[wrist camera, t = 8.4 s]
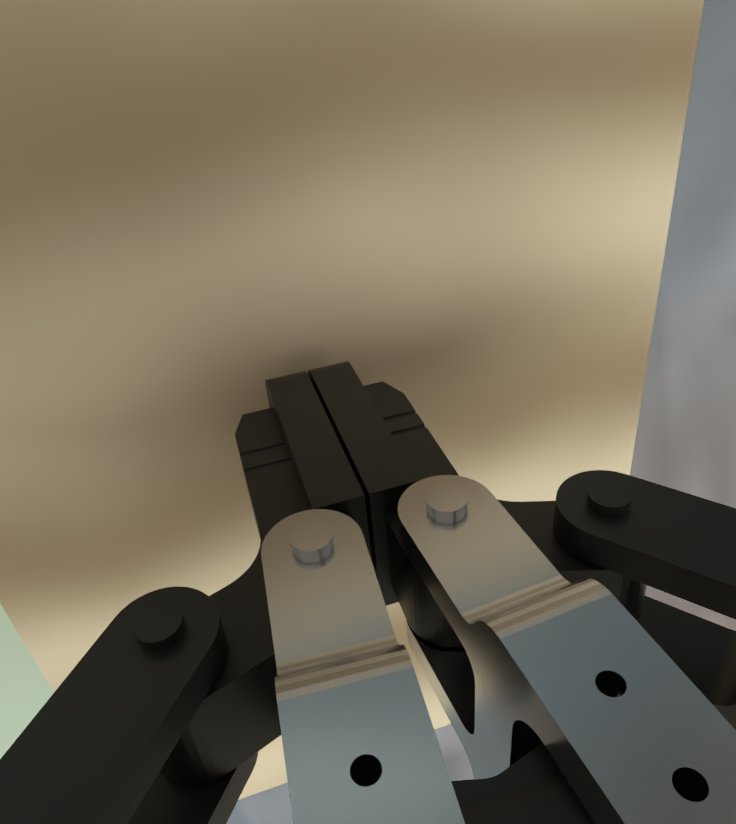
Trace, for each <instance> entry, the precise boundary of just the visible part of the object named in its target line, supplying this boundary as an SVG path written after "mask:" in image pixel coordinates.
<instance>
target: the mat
mask: <svg viewBox="0 0 736 824" xmlns="http://www.w3.org/2000/svg"><path fill="white" fill-rule="evenodd" d="M53 693H54V692H53V691H52V689H51V687H50V686H49V684H48V682H47V681H46V679H45V677H44V676H43V674H42V672H41V671H40V669H39V667H38V666H37V664H36V662H35V661H34V659H33V657H32V656H31V654H30V652H29V651H28V649H27V647H26V645H25V644H24V642H23V640H22V639H21V637H20V635H19V634H18V632H17V630H16V629H15V627H14V625H13V624H12V622H11V620H10V619H9V617H8V615H7V614H6V612H5V610H4V609H3V607H2V605H1V604H0V759H1V758H2V756H3V755H4V754H5V753H6V752H7V750H8V749H9V748H10V747H11V745H12V744H13V743H14V742H15V740H16V739H17V738H18V737H19V735H20V734H21V733H22V732H23V730H24V729H25V728H26V727H27V726H28V724H29V723H30V722H31V721H32V719H33V718H34V717H35V716H36V714H37V713H38V712H39V711H40V709H41V708H42V707H43V706H44V705H45V703H46V702H47V701H48V700H49V698H50V697H51V696H52V695H53Z"/></svg>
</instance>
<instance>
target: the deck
mask: <svg viewBox="0 0 736 824" xmlns="http://www.w3.org/2000/svg"><path fill="white" fill-rule="evenodd" d="M703 6H704V0H0V604H1V605H2V607H3V609H4V610H5V612H6V614H7V615H8V617H9V619H10V620H11V622H12V624H13V625H14V627H15V629H16V630H17V632H18V634H19V635H20V637H21V639H22V640H23V642H24V644H25V645H26V647H27V649H28V651H29V652H30V654H31V656H32V657H33V659H34V661H35V662H36V664H37V666H38V667H39V669H40V671H41V672H42V674H43V676H44V677H45V679H46V681H47V682H48V684H49V686H50V687H51V689H52V691H53V692H55V691H56V690H57V688H58V687H59V686H60V685H61V683H62V682H63V681H64V680H65V679H66V677H67V676H68V675H69V674H70V672H71V671H72V670H73V669H74V667H75V666H76V665H77V664H78V662H79V661H80V660H81V659H82V657H83V656H84V655H85V654H86V653H87V651H88V650H89V649H90V648H91V646H92V645H93V644H94V643H95V641H96V640H97V639H98V638H99V636H100V635H101V634H102V633H103V631H104V630H105V629H106V628H107V627H108V625H109V624H110V623H111V622H112V620H113V619H114V618H115V617H116V616H117V615H118V614H119V612H120V611H121V610H122V609H124V608H125V607H126V606H127V605H128V604H130V603H131V602H133V601H134V600H136V599H137V598H139V597H141V596H143V595H145V594H147V593H149V592H152V591H155V590H158V589H162V588H166V587H175V586H177V587H189V588H194V589H197V590H199V591H201V592H203V593H205V594H206V595H208V596H210V595H212V594H214V593H215V592H217V591H219V590H221V589H222V588H224V587H226V586H227V585H229V584H230V583H232V582H234V581H235V580H236V579H238V578H239V577H240V576H241V575H242V574H244V572H245V571H246V570H247V569H248V568H249V567H250V566H251V564H252V563H253V561H254V560H255V558H256V556H257V554H258V551H259V548H260V541H261V540H260V536H259V532H258V528H257V524H256V520H255V516H254V512H253V509H252V505H251V501H250V496H249V492H248V488H247V484H246V480H245V475H244V471H243V467H242V463H241V459H240V454H239V450H238V446H237V442H236V438H235V432H236V430H237V427H238V425H239V422H240V420H241V417H242V415H243V414H247V413H251V412H255V411H260V410H264V409H268V408H270V407H269V402H268V397H267V392H266V386H265V380H268V379H272V378H277V377H281V376H285V375H290V374H294V373H299V372H303V371H306V372H307V374H308V370H311V369H315V368H320V367H324V366H329V365H333V364H337V363H342V362H346V361H348V362H349V363H350V364H351V366H352V367H353V369H354V371H355V372H356V374H357V376H358V377H359V379H360V381H361V383H362V384H363V386H365V385H369V384H373V383H378V382H382V381H383V382H385V383H387V384H389V385H390V386H392V387H394V388H396V389H397V390H399V391H401V392H402V393H404V394H405V396H406V397H407V399H408V400H409V402H410V403H411V405H412V406H413V408H414V409H415V412H416V414H418V415H419V417H420V418H421V420H422V421H423V423H424V425H425V428H426V427H427V428H428V430H429V431H430V433H431V434H432V436H433V437H434V439H435V440H436V442H437V443H438V445H439V446H440V448H441V449H442V451H443V452H444V454H445V455H446V457H447V458H448V460H449V461H450V463H451V464H452V466H453V467H454V469H455V470H456V472H457V473H458V475H459V476H462V477H466V478H469V479H472V480H475V481H477V482H479V483H480V484H482V485H483V486H485V487H486V488H487V489H488V490H489V491H490V492H491V493H492V494H493V495H494V496H495V498H496V499H498V500H503V501H511V502H529V501H556V495H557V491H558V489H559V487H560V485H561V484H562V483H563V482H564V481H565V480H566V479H568V478H569V477H571V476H573V475H575V474H578V473H581V472H585V471H591V470H608V471H615V472H619V473H623V474H627V475H630V469H631V463H632V457H633V450H634V444H635V437H636V431H637V425H638V418H639V412H640V406H641V399H642V393H643V387H644V380H645V374H646V368H647V361H648V355H649V349H650V342H651V336H652V330H653V323H654V317H655V311H656V304H657V298H658V292H659V285H660V279H661V272H662V266H663V260H664V253H665V247H666V241H667V234H668V228H669V222H670V215H671V209H672V203H673V196H674V190H675V184H676V177H677V171H678V165H679V158H680V152H681V146H682V139H683V133H684V126H685V120H686V114H687V107H688V101H689V95H690V88H691V82H692V76H693V69H694V63H695V57H696V50H697V44H698V38H699V31H700V25H701V19H702V12H703ZM386 608H387V611H388V614H389V618H390V621H391V624H392V627H393V630H394V633H395V636H396V639H397V642H398V644H399V645H404V646H405V647H406V649H407V651H408V653H409V656H410V659H411V661H412V664H413V667H414V670H415V673H416V676H417V679H418V682H419V685H420V688H421V691H422V694H423V697H424V700H425V703H426V706H427V709H428V713H429V716H430V719H431V722H432V725H433V728H434V729H437V728H440V727H443V726H446V725H448V724H451V722H450V720H449V719H448V717H447V715H446V713H445V711H444V709H443V707H442V705H441V704H440V702H439V700H438V698H437V696H436V694H435V692H434V691H433V689H432V687H431V685H430V683H429V681H428V679H427V678H426V676H425V674H424V672H423V670H422V668H421V666H420V664H419V663H418V661H417V659H416V657H415V655H414V653H413V651H412V650H411V647H410V645H409V643H408V638H407V627H406V617H405V615H404V613H403V610H402V608H401V606H400V604H399V602H397V603H393V604H390V605H387V606H386ZM287 782H288V781H287V774H286V766H285V758H284V751H283V743H282V736H281V735H280V736H279V737H278V738H276V739H275V740H273V741H272V742H271V743H269V744H268V745H267V746H265V747H264V748H262V749H261V750H260V751H258V757H257V761H256V764H255V766H254V769H253V771H252V773H251V775H250V777H249V779H248V781H247V783H246V785H245V787H244V789H243V791H242V793H241V795H240V797H239V799H242V798H245V797H248V796H250V795H253V794H256V793H259V792H262V791H264V790H267V789H270V788H273V787H276V786H278V785H281V784H284V783H287ZM239 799H238V800H239Z"/></svg>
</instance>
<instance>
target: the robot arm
mask: <svg viewBox="0 0 736 824" xmlns="http://www.w3.org/2000/svg"><path fill="white" fill-rule="evenodd" d="M265 386H266V392H267V397H268V402H269V407H270V408H268V409H264V410H260V411H255V412H251V413H247V414H243V415H242V417H241V420H240V422H239V425H238V427H237V430H236V432H235V438H236V442H237V446H238V450H239V454H240V459H241V463H242V467H243V471H244V475H245V480H246V484H247V488H248V492H249V496H250V501H251V505H252V509H253V512H254V516H255V520H256V524H257V528H258V532H259V536H260V540H261V541H260V548H259V551H258V554H257V556H256V558H255V560H254V561H253V563H252V564H251V566H250V567H249V568H248V569H247V570H246V571H245V572H244V574H242V575H241V576H240V577H239V578H238V579H236V580H235V581H234V582H232V583H230V584H229V585H227V586H226V587H224V588H222V589H221V590H219V591H217V592H215V593H214V594H212V595H210V596H208V595H206V594H205V593H203V592H201V591H199V590H197V589H194V588H189V587H177V586H175V587H166V588H162V589H158V590H155V591H152V592H149V593H147V594H145V595H143V596H141V597H139V598H137V599H136V600H134V601H133V602H131V603H130V604H128V605H127V606H126V607H125V608H124V609H122V610H121V611H120V612H119V614H118V615H117V616H116V617H115V618H114V619H113V620H112V622H111V623H110V624H109V625H108V627H107V628H106V629H105V630H104V631H103V633H102V634H101V635H100V636H99V638H98V639H97V640H96V641H95V643H94V644H93V645H92V646H91V648H90V649H89V650H88V651H87V653H86V654H85V655H84V656H83V657H82V659H81V660H80V661H79V662H78V664H77V665H76V666H75V667H74V669H73V670H72V671H71V672H70V674H69V675H68V676H67V677H66V679H65V680H64V681H63V682H62V683H61V685H60V686H59V687H58V688H57V690H56V691H55V692H54V693H53V695H52V696H51V697H50V698H49V700H48V701H47V702H46V703H45V705H44V706H43V707H42V708H41V709H40V711H39V712H38V713H37V714H36V716H35V717H34V718H33V719H32V721H31V722H30V723H29V724H28V726H27V727H26V728H25V729H24V730H23V732H22V733H21V734H20V735H19V737H18V738H17V739H16V740H15V742H14V743H13V744H12V745H11V747H10V748H9V749H8V750H7V752H6V753H5V754H4V755H3V756H2V758H1V759H0V824H226V823H227V821H228V819H229V817H230V815H231V813H232V811H233V809H234V807H235V805H236V803H237V801H238V799H239V797H240V795H241V793H242V791H243V789H244V787H245V785H246V783H247V781H248V779H249V777H250V775H251V773H252V771H253V769H254V766H255V764H256V761H257V757H258V751H260V750H261V749H262V748H264V747H265V746H267V745H268V744H269V743H271V742H272V741H273V740H275V739H276V738H278V737H279V736H280V735H281V736H282V743H283V751H284V758H285V766H286V774H287V781H288V789H289V796H290V804H291V811H292V819H293V824H736V631H734V630H731V629H728V628H725V627H723V626H720V625H718V624H715V623H713V622H710V621H708V620H705V619H702V618H700V617H697V616H695V615H692V614H690V613H687V612H685V611H682V610H680V609H677V608H675V607H672V606H670V605H667V604H664V603H662V602H659V601H657V600H654V599H652V598H649V597H647V596H644V595H645V590H646V586H647V585H648V586H651V587H653V588H656V589H659V590H661V591H664V592H666V593H669V594H672V595H674V596H677V597H679V598H682V599H684V600H687V601H690V602H692V603H695V604H697V605H700V606H703V607H705V608H708V609H710V610H713V611H716V612H718V613H721V614H723V615H726V616H728V617H731V618H734V619H736V509H735V508H732V507H729V506H726V505H723V504H719V503H716V502H713V501H710V500H707V499H703V498H700V497H697V496H694V495H691V494H687V493H684V492H681V491H678V490H675V489H671V488H668V487H665V486H662V485H659V484H655V483H652V482H649V481H646V480H643V479H639V478H636V477H633V476H630V475H627V474H623V473H619V472H615V471H608V470H591V471H585V472H581V473H578V474H575V475H573V476H571V477H569V478H568V479H566V480H565V481H564V482H563V483H562V484H561V485H560V487H559V489H558V491H557V495H556V501H529V502H511V501H503V500H498V499H496V498H495V496H494V495H493V494H492V493H491V492H490V491H489V490H488V489H487V488H486V487H485V486H483V485H482V484H480V483H479V482H477V481H475V480H472V479H469V478H466V477H462V476H459V475H458V473H457V472H456V470H455V469H454V467H453V466H452V464H451V463H450V461H449V460H448V458H447V457H446V455H445V454H444V452H443V451H442V449H441V448H440V446H439V445H438V443H437V442H436V440H435V439H434V437H433V436H432V434H431V433H430V431H429V430H428V428H427V427H426V428H425V425H424V423H423V421H422V420H421V418H420V417H419V415H418V414H416V412H415V409H414V408H413V406H412V405H411V403H410V402H409V400H408V399H407V397H406V396H405V394H404V393H402V392H401V391H399V390H397V389H396V388H394V387H392V386H390V385H389V384H387V383H385V382H383V381H382V382H378V383H373V384H369V385H365V386H363V384H362V383H361V381H360V379H359V377H358V376H357V374H356V372H355V371H354V369H353V367H352V366H351V364H350V363H349V362H348V361H346V362H342V363H337V364H333V365H329V366H324V367H320V368H315V369H311V370H308V374H307V372H306V371H303V372H299V373H294V374H290V375H285V376H281V377H277V378H272V379H268V380H265ZM397 602H399V604H400V606H401V608H402V610H403V613H404V615H405V617H406V627H407V638H408V643H409V645H410V647H411V650H412V651H413V653H414V655H415V657H416V659H417V661H418V663H419V664H420V666H421V668H422V670H423V672H424V674H425V676H426V678H427V679H428V681H429V683H430V685H431V687H432V689H433V691H434V692H435V694H436V696H437V698H438V700H439V702H440V704H441V705H442V707H443V709H444V711H445V713H446V715H447V717H448V719H449V720H450V722H451V724H452V726H453V728H454V730H455V732H456V733H457V735H458V737H459V739H460V741H461V743H462V745H463V747H464V749H465V751H466V753H467V756H468V758H469V761H470V764H471V767H472V771H473V775H474V780H462V781H451V779H450V776H449V773H448V770H447V767H446V764H445V761H444V758H443V755H442V752H441V749H440V746H439V743H438V740H437V737H436V734H435V731H434V728H433V725H432V722H431V719H430V716H429V713H428V709H427V706H426V703H425V700H424V697H423V694H422V691H421V688H420V685H419V682H418V679H417V676H416V673H415V670H414V667H413V664H412V661H411V659H410V656H409V653H408V651H407V649H406V647H405V646H404V645H399V644H398V642H397V639H396V636H395V633H394V630H393V627H392V624H391V621H390V618H389V614H388V611H387V608H386V606H387V605H390V604H393V603H397Z"/></svg>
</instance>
